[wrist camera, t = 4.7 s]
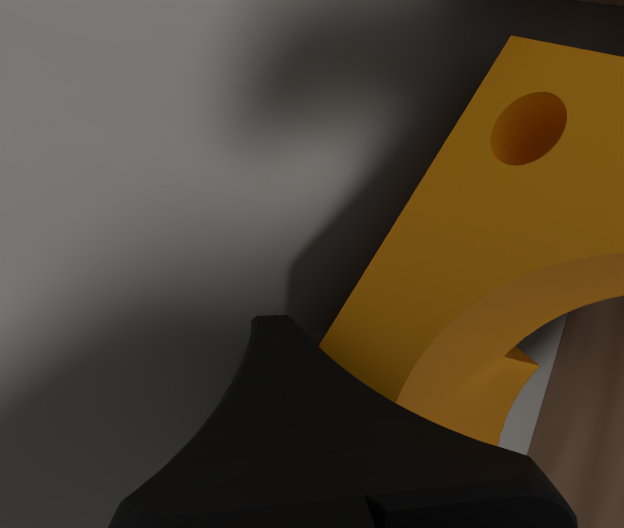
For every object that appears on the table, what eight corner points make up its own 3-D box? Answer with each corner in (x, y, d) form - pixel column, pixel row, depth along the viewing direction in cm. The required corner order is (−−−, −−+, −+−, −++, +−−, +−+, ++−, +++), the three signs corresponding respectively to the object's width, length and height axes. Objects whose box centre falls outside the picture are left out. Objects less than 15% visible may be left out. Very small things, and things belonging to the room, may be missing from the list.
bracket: (357, 555, 17) (397, 693, 13) (444, -70, 10) (577, -143, 6) (528, 532, 18) (608, 652, 14) (709, -36, 11) (948, -81, 8)
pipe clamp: (351, 478, 15) (508, 725, 10) (233, 483, 13) (373, 818, 8) (596, 128, 12) (976, 252, 7) (511, 35, 9) (1022, 133, 5)
